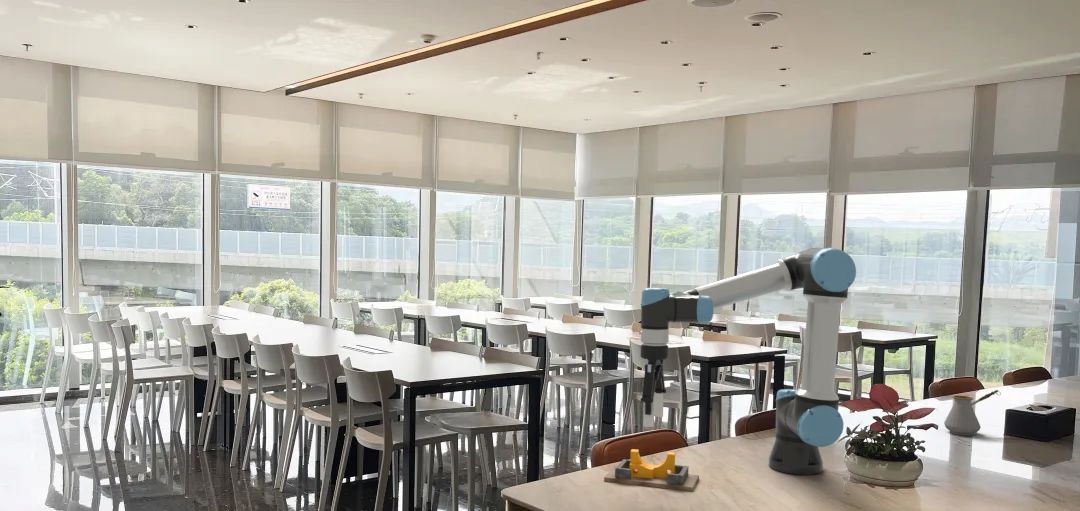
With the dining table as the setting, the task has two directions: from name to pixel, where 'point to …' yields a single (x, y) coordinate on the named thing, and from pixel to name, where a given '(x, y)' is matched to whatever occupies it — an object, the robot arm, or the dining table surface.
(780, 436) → the robot arm
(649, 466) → the pipe clamp
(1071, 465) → the dining table surface
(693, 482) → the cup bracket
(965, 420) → the coffee pot
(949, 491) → the dining table surface
